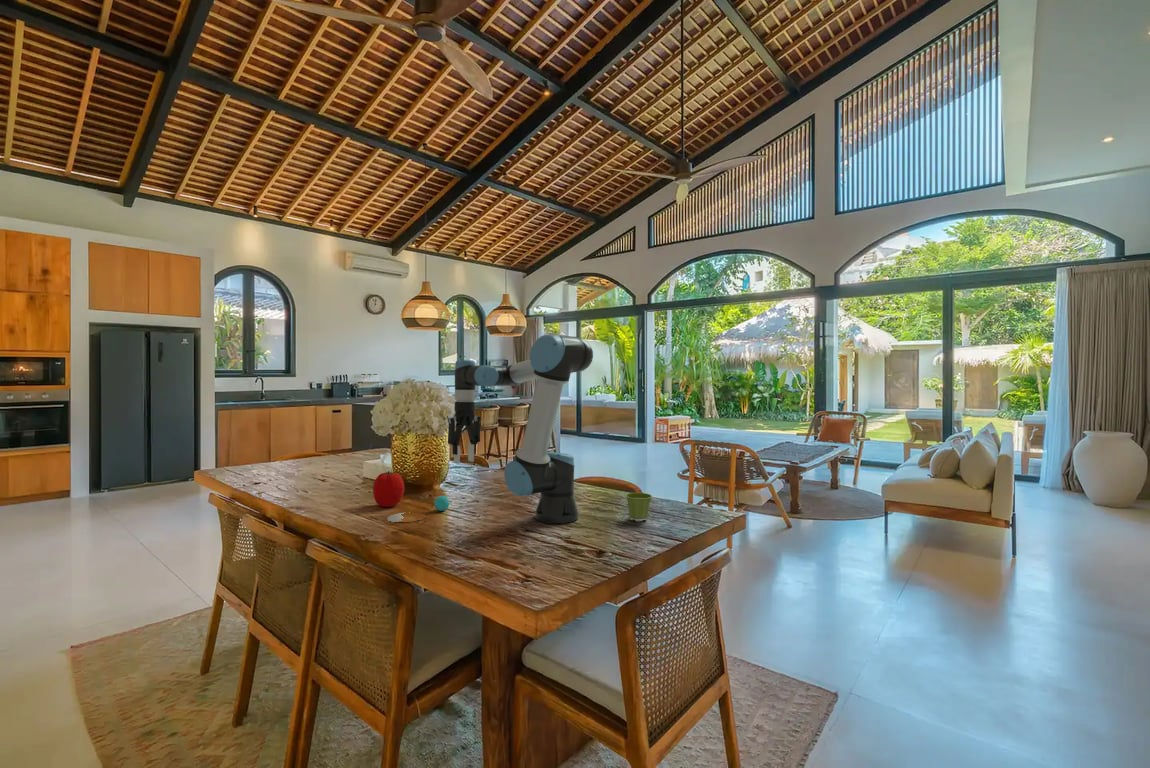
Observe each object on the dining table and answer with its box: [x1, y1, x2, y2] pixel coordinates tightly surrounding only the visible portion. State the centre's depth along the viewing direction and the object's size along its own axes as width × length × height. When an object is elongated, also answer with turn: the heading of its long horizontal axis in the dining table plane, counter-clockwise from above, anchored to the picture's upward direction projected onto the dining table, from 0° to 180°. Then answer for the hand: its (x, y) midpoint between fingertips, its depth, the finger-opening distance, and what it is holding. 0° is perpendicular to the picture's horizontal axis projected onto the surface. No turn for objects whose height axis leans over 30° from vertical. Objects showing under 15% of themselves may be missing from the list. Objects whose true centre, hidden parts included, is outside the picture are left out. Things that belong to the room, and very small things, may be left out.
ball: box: [433, 495, 451, 512], centre depth 195 cm, size 6×6×6 cm
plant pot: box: [624, 492, 653, 519], centre depth 186 cm, size 9×9×9 cm
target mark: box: [386, 511, 411, 523], centre depth 184 cm, size 13×13×1 cm
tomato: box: [372, 470, 406, 508], centre depth 200 cm, size 12×12×13 cm
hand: (464, 462), depth 201 cm, fingers open, 6 cm apart
